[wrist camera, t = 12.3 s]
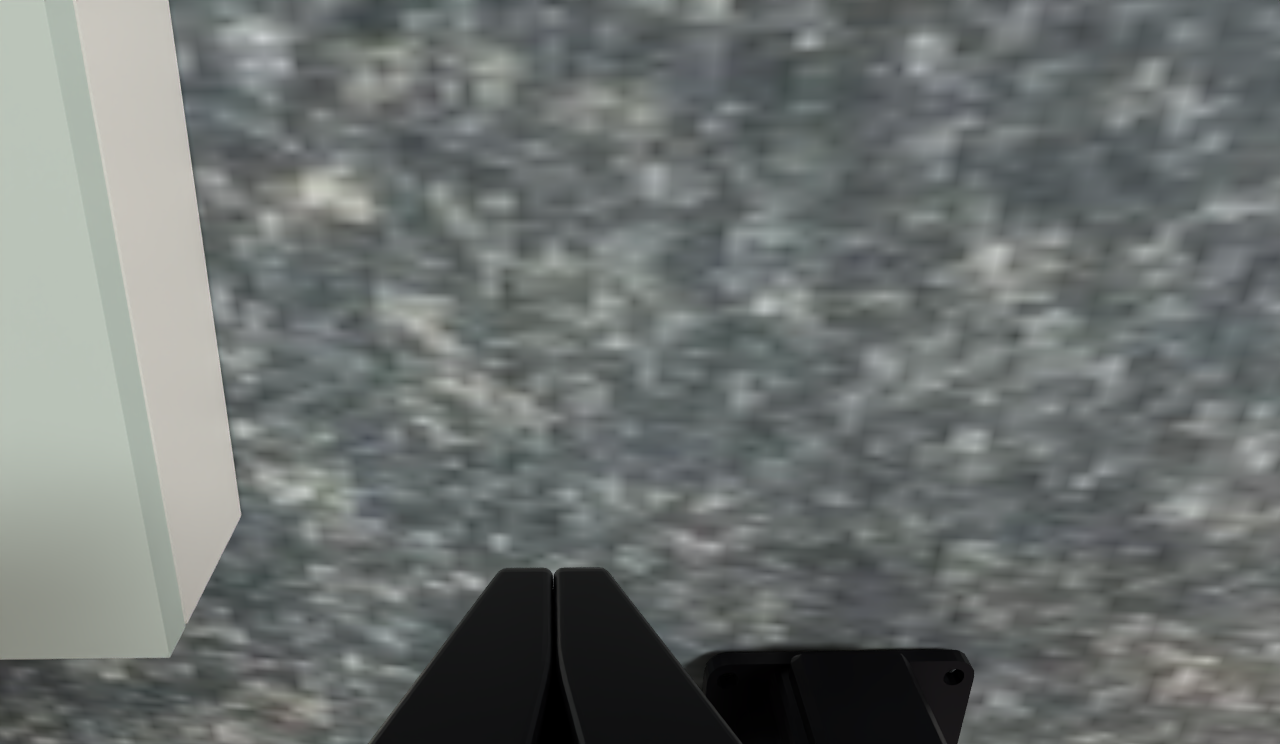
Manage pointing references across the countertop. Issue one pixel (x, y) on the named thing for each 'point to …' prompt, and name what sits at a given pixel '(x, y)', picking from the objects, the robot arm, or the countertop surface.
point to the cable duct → (163, 274)
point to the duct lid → (69, 377)
